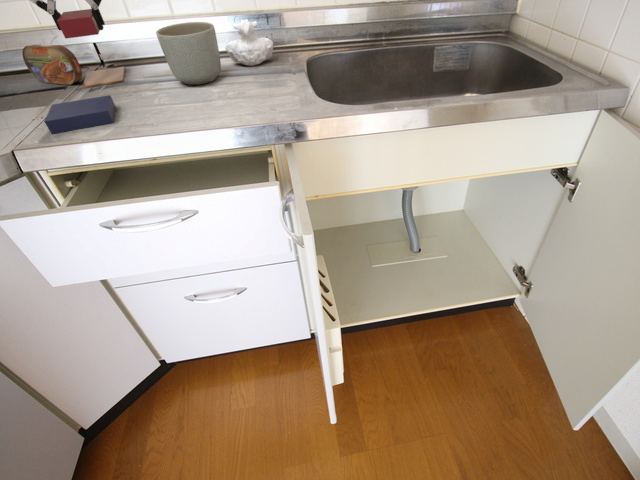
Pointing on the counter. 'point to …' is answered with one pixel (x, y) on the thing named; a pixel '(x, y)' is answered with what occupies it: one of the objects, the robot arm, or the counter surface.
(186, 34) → the planter
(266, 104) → the counter surface
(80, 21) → the top book
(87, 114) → the bottom book
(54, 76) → the tin
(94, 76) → the pad
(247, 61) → the bust
